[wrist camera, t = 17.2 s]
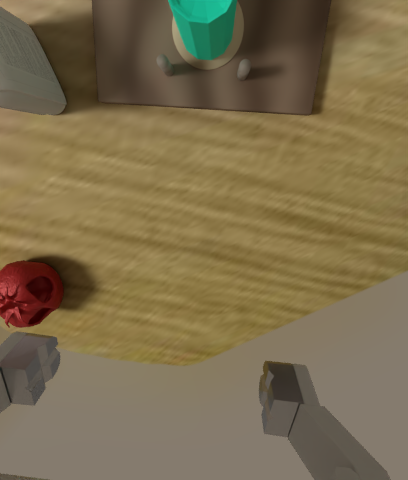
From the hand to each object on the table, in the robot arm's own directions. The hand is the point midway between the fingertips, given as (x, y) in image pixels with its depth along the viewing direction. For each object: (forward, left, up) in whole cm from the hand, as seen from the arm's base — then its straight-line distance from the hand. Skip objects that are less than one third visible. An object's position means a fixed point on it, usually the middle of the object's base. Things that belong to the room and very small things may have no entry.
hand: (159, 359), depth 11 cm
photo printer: (+22, -15, -30) cm, 40 cm away
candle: (+1, -20, -28) cm, 35 cm away
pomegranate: (+26, +15, -30) cm, 42 cm away
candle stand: (+1, -20, -30) cm, 36 cm away
